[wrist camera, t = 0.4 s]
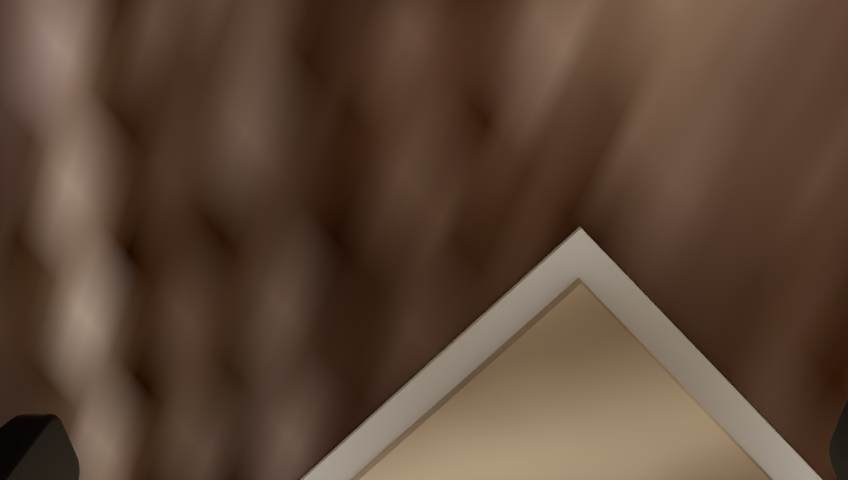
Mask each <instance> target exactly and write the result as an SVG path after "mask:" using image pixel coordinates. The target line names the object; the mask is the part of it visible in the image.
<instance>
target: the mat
mask: <svg viewBox="0 0 848 480" xmlns="http://www.w3.org/2000/svg"><path fill="white" fill-rule="evenodd" d="M578 277H579V278H580V279H581V280H582V281H583V282H584V283H585V284H586V285H587V286H588V287H589V288H590V290H591V291H592V292H593V293H594V294H595V295H596V296H597V297H598V298H599V299H600V300H601V301H602V302H603V303H604V304H605V305H606V306H607V307H608V308H609V309H610V310H611V311H612V312H613V313H614V315H615V316H616V317H617V318H618V319H619V320H620V321H621V322H622V323H623V324H624V325H625V326H626V327H627V328H628V329H629V330H630V331H631V332H632V333H633V334H634V335H635V336H636V337H637V338H638V339H639V341H640V342H641V343H642V344H643V345H644V346H645V347H646V348H647V349H648V350H649V351H650V352H651V353H652V354H653V355H654V356H655V357H656V358H657V359H658V360H659V361H660V362H661V363H662V364H663V365H664V367H665V368H666V369H667V370H668V371H669V372H670V373H671V374H672V375H673V376H674V377H675V378H676V379H677V380H678V381H679V382H680V383H681V384H682V385H683V386H684V387H685V388H686V389H687V390H688V391H689V393H690V394H691V395H692V396H693V397H694V398H695V399H696V400H697V401H698V402H699V403H700V404H701V405H702V406H703V407H704V408H705V409H706V410H707V411H708V412H709V413H710V414H711V415H712V416H713V418H714V419H715V420H716V421H717V422H718V423H719V424H720V425H721V426H722V427H723V428H724V429H725V430H726V431H727V432H728V433H729V434H730V435H731V436H732V437H733V438H734V439H735V440H736V441H737V442H738V444H739V445H740V446H741V447H742V448H743V449H744V450H745V451H746V452H747V453H748V454H749V455H750V456H751V457H752V458H753V459H754V460H755V461H756V462H757V463H758V464H759V465H760V466H761V467H762V468H763V470H764V471H765V472H766V473H767V474H768V475H769V476H770V477H771V478H772V479H773V480H822V479H821V477H820V476H819V475H818V474H817V473H816V472H815V471H814V470H813V469H812V468H811V467H810V466H809V465H808V464H807V463H806V462H805V461H804V460H803V459H802V458H801V457H800V456H799V455H798V453H797V452H796V451H795V450H794V449H793V448H792V447H791V446H790V445H789V444H788V443H787V442H786V441H785V440H784V439H783V438H782V437H781V436H780V435H779V434H778V433H777V432H776V431H775V429H774V428H773V427H772V426H771V425H770V424H769V423H768V422H767V421H766V420H765V419H764V418H763V417H762V416H761V415H760V414H759V413H758V412H757V411H756V410H755V409H754V408H753V406H752V405H751V404H750V403H749V402H748V401H747V400H746V399H745V398H744V397H743V396H742V395H741V394H740V393H739V392H738V391H737V390H736V389H735V388H734V387H733V386H732V385H731V384H730V382H729V381H728V380H727V379H726V378H725V377H724V376H723V375H722V374H721V373H720V372H719V371H718V370H717V369H716V368H715V367H714V366H713V365H712V364H711V363H710V362H709V361H708V360H707V358H706V357H705V356H704V355H703V354H702V353H701V352H700V351H699V350H698V349H697V348H696V347H695V346H694V345H693V344H692V343H691V342H690V341H689V340H688V339H687V338H686V337H685V336H684V334H683V333H682V332H681V331H680V330H679V329H678V328H677V327H676V326H675V325H674V324H673V323H672V322H671V321H670V320H669V319H668V318H667V317H666V316H665V315H664V314H663V313H662V312H661V310H660V309H659V308H658V307H657V306H656V305H655V304H654V303H653V302H652V301H651V300H650V299H649V298H648V297H647V296H646V295H645V294H644V293H643V292H642V291H641V290H640V289H639V288H638V286H637V285H636V284H635V283H634V282H633V281H632V280H631V279H630V278H629V277H628V276H627V275H626V274H625V273H624V272H623V271H622V270H621V269H620V268H619V267H618V266H617V265H616V264H615V262H614V261H613V260H612V259H611V258H610V257H609V256H608V255H607V254H606V253H605V252H604V251H603V250H602V249H601V248H600V247H599V246H598V245H597V244H596V243H595V242H594V241H593V240H592V238H591V237H590V236H589V235H588V234H587V233H586V232H585V231H584V230H583V229H582V228H581V227H580V226H579V227H578V228H577V229H576V230H575V231H574V232H573V233H572V234H571V235H569V236H568V237H567V238H566V239H565V240H564V241H563V242H562V243H561V244H559V245H558V246H557V247H556V248H555V249H554V250H553V251H552V252H551V253H550V254H548V255H547V256H546V257H545V258H544V259H543V260H542V261H541V262H540V263H539V264H537V265H536V266H535V267H534V268H533V269H532V270H531V271H530V272H529V273H527V274H526V275H525V276H524V277H523V278H522V279H521V280H520V281H519V282H518V283H516V284H515V285H514V286H513V287H512V288H511V289H510V290H509V291H508V292H506V293H505V294H504V295H503V296H502V297H501V298H500V299H499V300H498V301H497V302H495V303H494V304H493V305H492V306H491V307H490V308H489V309H488V310H487V311H485V312H484V313H483V314H482V315H481V316H480V317H479V318H478V319H477V320H476V321H474V322H473V323H472V324H471V325H470V326H469V327H468V328H467V329H466V330H465V331H463V332H462V333H461V334H460V335H459V336H458V337H457V338H456V339H455V340H453V341H452V342H451V343H450V344H449V345H448V346H447V347H446V348H445V349H444V350H442V351H441V352H440V353H439V354H438V355H437V356H436V357H435V358H434V359H432V360H431V361H430V362H429V363H428V364H427V365H426V366H425V367H424V368H423V369H421V370H420V371H419V372H418V373H417V374H416V375H415V376H414V377H413V378H411V379H410V380H409V381H408V382H407V383H406V384H405V385H404V386H403V387H402V388H400V389H399V390H398V391H397V392H396V393H395V394H394V395H393V396H392V397H391V398H389V399H388V400H387V401H386V402H385V403H384V404H383V405H382V406H381V407H379V408H378V409H377V410H376V411H375V412H374V413H373V414H372V415H371V416H370V417H368V418H367V419H366V420H365V421H364V422H363V423H362V424H361V425H360V426H358V427H357V428H356V429H355V430H354V431H353V432H352V433H351V434H350V435H349V436H347V437H346V438H345V439H344V440H343V441H342V442H341V443H340V444H339V445H337V446H336V447H335V448H334V449H333V450H332V451H331V452H330V453H329V454H328V455H326V456H325V457H324V458H323V459H322V460H321V461H320V462H319V463H318V464H317V465H315V466H314V467H313V468H312V469H311V470H310V471H309V472H308V473H307V474H305V475H304V476H303V477H302V478H301V479H300V480H351V479H352V478H353V477H354V476H355V475H356V474H357V473H359V472H360V471H361V470H362V469H363V468H364V467H365V466H366V465H368V464H369V463H370V462H371V461H372V460H373V459H374V458H375V457H377V456H378V455H379V454H380V453H381V452H382V451H383V450H384V449H386V448H387V447H388V446H389V445H390V444H391V443H392V442H393V441H395V440H396V439H397V438H398V437H399V436H400V435H401V434H403V433H404V432H405V431H406V430H407V429H408V428H409V427H410V426H412V425H413V424H414V423H415V422H416V421H417V420H418V419H419V418H421V417H422V416H423V415H424V414H425V413H426V412H427V411H428V410H430V409H431V408H432V407H433V406H434V405H435V404H436V403H437V402H439V401H440V400H441V399H442V398H443V397H444V396H445V395H446V394H448V393H449V392H450V391H451V390H452V389H453V388H454V387H456V386H457V385H458V384H459V383H460V382H461V381H462V380H463V379H465V378H466V377H467V376H468V375H469V374H470V373H471V372H472V371H474V370H475V369H476V368H477V367H478V366H479V365H480V364H481V363H483V362H484V361H485V360H486V359H487V358H488V357H489V356H490V355H492V354H493V353H494V352H495V351H496V350H497V349H498V348H499V347H501V346H502V345H503V344H504V343H505V342H506V341H507V340H509V339H510V338H511V337H512V336H513V335H514V334H515V333H516V332H518V331H519V330H520V329H521V328H522V327H523V326H524V325H525V324H527V323H528V322H529V321H530V320H531V319H532V318H533V317H534V316H536V315H537V314H538V313H539V312H540V311H541V310H542V309H543V308H545V307H546V306H547V305H548V304H549V303H550V302H551V301H552V300H554V299H555V298H556V297H557V296H558V295H559V294H560V293H561V292H563V291H564V290H565V289H566V288H567V287H568V286H569V285H571V284H572V283H573V282H574V281H575V280H576V279H577V278H578Z"/></svg>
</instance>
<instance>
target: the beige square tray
mask: <svg viewBox="0 0 848 480" xmlns="http://www.w3.org/2000/svg"><path fill="white" fill-rule="evenodd" d="M351 480H773V479H772V478H771V477H770V476H769V475H768V474H767V473H766V472H765V471H764V470H763V468H762V467H761V466H760V465H759V464H758V463H757V462H756V461H755V460H754V459H753V458H752V457H751V456H750V455H749V454H748V453H747V452H746V451H745V450H744V449H743V448H742V447H741V446H740V445H739V444H738V442H737V441H736V440H735V439H734V438H733V437H732V436H731V435H730V434H729V433H728V432H727V431H726V430H725V429H724V428H723V427H722V426H721V425H720V424H719V423H718V422H717V421H716V420H715V419H714V418H713V416H712V415H711V414H710V413H709V412H708V411H707V410H706V409H705V408H704V407H703V406H702V405H701V404H700V403H699V402H698V401H697V400H696V399H695V398H694V397H693V396H692V395H691V394H690V393H689V391H688V390H687V389H686V388H685V387H684V386H683V385H682V384H681V383H680V382H679V381H678V380H677V379H676V378H675V377H674V376H673V375H672V374H671V373H670V372H669V371H668V370H667V369H666V368H665V367H664V365H663V364H662V363H661V362H660V361H659V360H658V359H657V358H656V357H655V356H654V355H653V354H652V353H651V352H650V351H649V350H648V349H647V348H646V347H645V346H644V345H643V344H642V343H641V342H640V341H639V339H638V338H637V337H636V336H635V335H634V334H633V333H632V332H631V331H630V330H629V329H628V328H627V327H626V326H625V325H624V324H623V323H622V322H621V321H620V320H619V319H618V318H617V317H616V316H615V315H614V313H613V312H612V311H611V310H610V309H609V308H608V307H607V306H606V305H605V304H604V303H603V302H602V301H601V300H600V299H599V298H598V297H597V296H596V295H595V294H594V293H593V292H592V291H591V290H590V288H589V287H588V286H587V285H586V284H585V283H584V282H583V281H582V280H581V279H580V278H579V277H578V278H577V279H576V280H575V281H574V282H573V283H572V284H571V285H569V286H568V287H567V288H566V289H565V290H564V291H563V292H561V293H560V294H559V295H558V296H557V297H556V298H555V299H554V300H552V301H551V302H550V303H549V304H548V305H547V306H546V307H545V308H543V309H542V310H541V311H540V312H539V313H538V314H537V315H536V316H534V317H533V318H532V319H531V320H530V321H529V322H528V323H527V324H525V325H524V326H523V327H522V328H521V329H520V330H519V331H518V332H516V333H515V334H514V335H513V336H512V337H511V338H510V339H509V340H507V341H506V342H505V343H504V344H503V345H502V346H501V347H499V348H498V349H497V350H496V351H495V352H494V353H493V354H492V355H490V356H489V357H488V358H487V359H486V360H485V361H484V362H483V363H481V364H480V365H479V366H478V367H477V368H476V369H475V370H474V371H472V372H471V373H470V374H469V375H468V376H467V377H466V378H465V379H463V380H462V381H461V382H460V383H459V384H458V385H457V386H456V387H454V388H453V389H452V390H451V391H450V392H449V393H448V394H446V395H445V396H444V397H443V398H442V399H441V400H440V401H439V402H437V403H436V404H435V405H434V406H433V407H432V408H431V409H430V410H428V411H427V412H426V413H425V414H424V415H423V416H422V417H421V418H419V419H418V420H417V421H416V422H415V423H414V424H413V425H412V426H410V427H409V428H408V429H407V430H406V431H405V432H404V433H403V434H401V435H400V436H399V437H398V438H397V439H396V440H395V441H393V442H392V443H391V444H390V445H389V446H388V447H387V448H386V449H384V450H383V451H382V452H381V453H380V454H379V455H378V456H377V457H375V458H374V459H373V460H372V461H371V462H370V463H369V464H368V465H366V466H365V467H364V468H363V469H362V470H361V471H360V472H359V473H357V474H356V475H355V476H354V477H353V478H352V479H351Z"/></svg>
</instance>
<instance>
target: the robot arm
mask: <svg viewBox="0 0 848 480" xmlns="http://www.w3.org/2000/svg"><path fill="white" fill-rule="evenodd" d="M828 453H829V460H830V464H831V467H832V470H833V472H834V475H835V478H836V480H848V398H847V399H846V401H845V403H844V405H843V408H842V410H841V413H840V415H839V418H838V420H837V423H836V425H835V428H834V430H833V433H832V435H831V438H830V441H829V447H828ZM0 480H79V462H78V458H77V456H76V453H75V451H74V449H73V447H72V444H71V442H70V440H69V437H68V435H67V433H66V431H65V428H64V426H63V424H62V422H61V420H60V418H58V417H57V416H56V415H55V414H50V413H49V414H22V415H18V416H16V417H14V418H13V419H11V420H10V421H9V422H7V423H6V424H5V425H3V426H2V427H1V428H0Z"/></svg>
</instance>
